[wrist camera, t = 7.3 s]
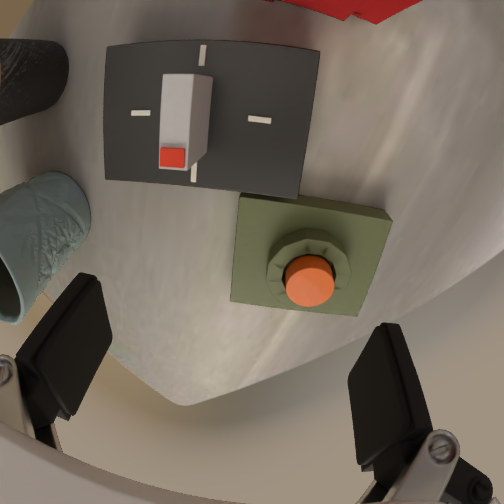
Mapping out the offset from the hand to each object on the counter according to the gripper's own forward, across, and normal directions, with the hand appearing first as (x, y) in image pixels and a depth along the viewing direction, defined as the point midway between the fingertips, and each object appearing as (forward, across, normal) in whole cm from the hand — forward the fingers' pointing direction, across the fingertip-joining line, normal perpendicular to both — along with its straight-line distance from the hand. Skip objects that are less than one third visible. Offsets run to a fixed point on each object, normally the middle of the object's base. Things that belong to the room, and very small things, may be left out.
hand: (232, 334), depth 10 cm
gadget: (+16, +4, -5) cm, 18 cm away
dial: (+12, +4, -5) cm, 14 cm away
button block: (+16, -5, +6) cm, 18 cm away
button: (+13, -5, +6) cm, 15 cm away
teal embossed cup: (+16, +20, +5) cm, 27 cm away
